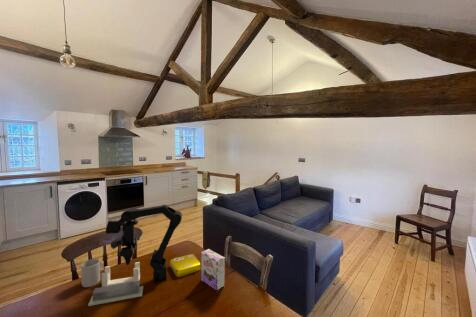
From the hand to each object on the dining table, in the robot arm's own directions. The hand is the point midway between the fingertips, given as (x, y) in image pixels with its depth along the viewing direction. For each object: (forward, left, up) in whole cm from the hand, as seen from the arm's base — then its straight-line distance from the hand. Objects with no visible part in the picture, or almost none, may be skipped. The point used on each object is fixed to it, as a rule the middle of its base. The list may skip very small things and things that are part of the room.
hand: (129, 260), depth 121 cm
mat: (+4, +11, -12) cm, 17 cm away
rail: (+4, +11, -11) cm, 16 cm away
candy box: (-43, +15, -12) cm, 47 cm away
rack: (+4, -1, -12) cm, 13 cm away
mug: (+19, -7, -12) cm, 24 cm away
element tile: (-30, -5, -13) cm, 33 cm away
